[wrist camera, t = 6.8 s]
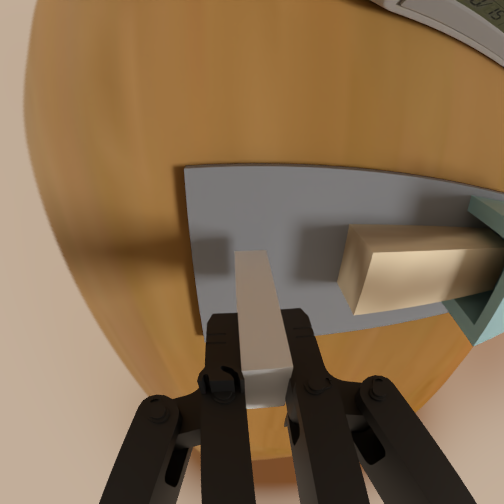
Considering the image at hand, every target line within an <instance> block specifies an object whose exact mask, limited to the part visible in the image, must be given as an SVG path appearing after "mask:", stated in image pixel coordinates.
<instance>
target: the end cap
mask: <svg viewBox="0 0 504 504" xmlns="http://www.w3.org/2000/svg"><path fill="white" fill-rule="evenodd" d="M467 211H468V212H470V213H471V214H473V215H474V216H475V217H477V218H478V219H480V220H481V221H482V222H484V223H485V224H486V225H488V226H489V227H490V228H491V229H493V230H494V231H495V232H497V233H498V234H499V235H500V238H502V239H503V240H504V202H503V201H498V200H494V199H489V198H484V197H478V196H473V195H471V199H470V203H469V207H468V210H467ZM441 303H442V304H443V305H444V307H445V308H446V309H447V310H448V312H449V313H450V314H451V316H452V317H453V319H454V320H455V321H456V323H457V324H458V325H459V327H460V328H461V330H462V331H463V332H464V334H465V335H466V337H467V338H468V340H469V341H470V343H471V344H472V346H475V345H478V344H480V343H482V342H484V341H486V340H488V339H491V338H493V337H495V336H497V335H499V334H501V333H503V332H504V267H503V270H502V272H501V274H500V276H499V278H498V280H497V282H496V284H495V286H494V288H493V290H490V291H486V292H482V293H478V294H474V295H469V296H465V297H460V298H456V299H451V300H446V301H441Z"/></svg>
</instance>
